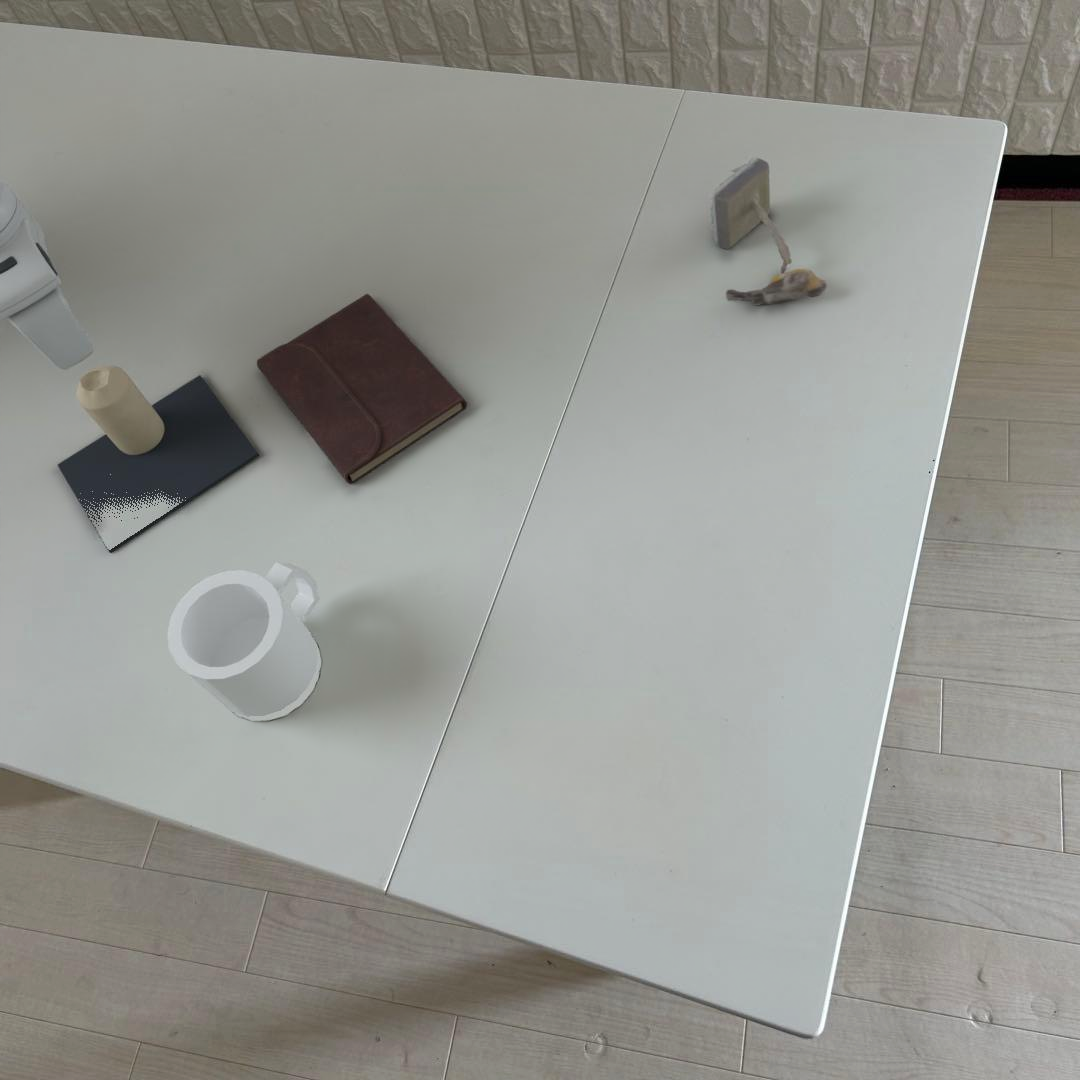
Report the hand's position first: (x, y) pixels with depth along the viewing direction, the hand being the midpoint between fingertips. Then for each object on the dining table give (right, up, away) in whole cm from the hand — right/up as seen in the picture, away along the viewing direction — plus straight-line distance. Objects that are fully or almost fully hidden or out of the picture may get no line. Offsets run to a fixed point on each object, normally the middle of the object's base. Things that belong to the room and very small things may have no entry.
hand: (68, 338), depth 108 cm
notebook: (+29, -5, +5) cm, 30 cm away
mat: (+8, -12, +4) cm, 15 cm away
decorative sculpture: (+72, +9, +6) cm, 73 cm away
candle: (+5, -10, +6) cm, 12 cm away
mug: (+24, -32, -9) cm, 41 cm away
